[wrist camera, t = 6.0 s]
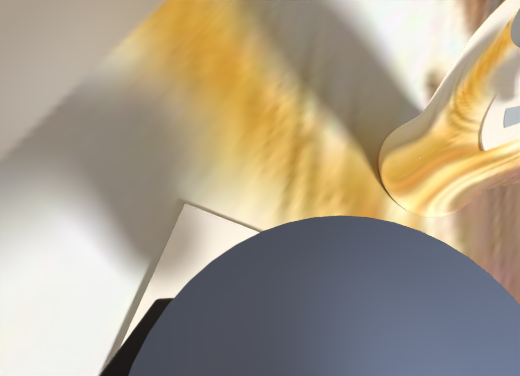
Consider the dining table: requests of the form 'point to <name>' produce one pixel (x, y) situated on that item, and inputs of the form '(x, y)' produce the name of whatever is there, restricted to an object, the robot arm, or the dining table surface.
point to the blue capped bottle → (337, 308)
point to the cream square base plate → (189, 254)
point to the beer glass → (462, 126)
